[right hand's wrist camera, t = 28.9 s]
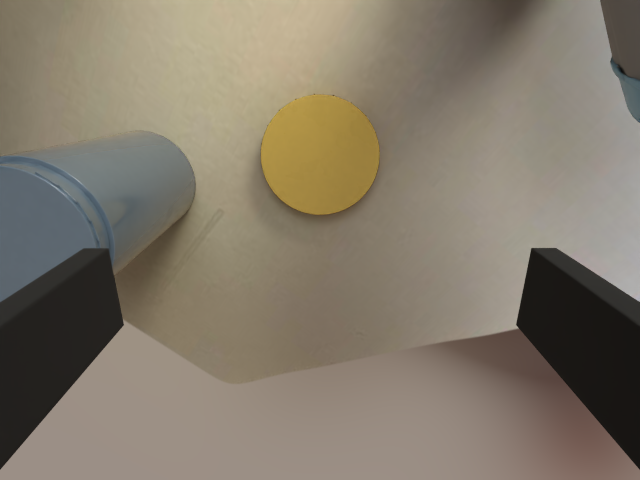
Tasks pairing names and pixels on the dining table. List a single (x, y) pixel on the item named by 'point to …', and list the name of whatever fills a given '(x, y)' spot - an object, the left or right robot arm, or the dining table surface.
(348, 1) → the dining table surface
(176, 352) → the dining table surface
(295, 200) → the lid
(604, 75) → the dining table surface
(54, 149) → the jar
